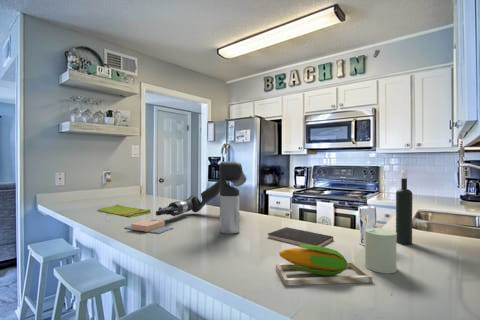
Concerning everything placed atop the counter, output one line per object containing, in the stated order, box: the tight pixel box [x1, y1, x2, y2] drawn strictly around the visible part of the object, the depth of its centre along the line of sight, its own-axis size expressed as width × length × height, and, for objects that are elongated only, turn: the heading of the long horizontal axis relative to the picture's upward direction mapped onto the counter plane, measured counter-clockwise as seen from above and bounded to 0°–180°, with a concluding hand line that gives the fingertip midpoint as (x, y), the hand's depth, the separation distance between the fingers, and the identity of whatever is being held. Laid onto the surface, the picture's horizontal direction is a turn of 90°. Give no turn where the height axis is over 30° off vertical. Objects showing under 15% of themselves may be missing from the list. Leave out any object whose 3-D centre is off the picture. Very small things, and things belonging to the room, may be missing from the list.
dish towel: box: [96, 204, 152, 218], centre depth 173 cm, size 15×36×3 cm, turn 57°
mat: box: [124, 225, 174, 235], centre depth 132 cm, size 22×10×1 cm, turn 65°
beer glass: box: [357, 205, 378, 247], centre depth 109 cm, size 7×7×15 cm
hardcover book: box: [267, 227, 334, 247], centre depth 116 cm, size 16×23×2 cm
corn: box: [278, 245, 348, 277], centre depth 80 cm, size 7×8×20 cm
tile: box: [130, 218, 166, 233], centre depth 132 cm, size 10×3×12 cm
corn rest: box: [275, 261, 373, 286], centre depth 80 cm, size 25×11×2 cm, turn 95°
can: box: [363, 227, 398, 274], centre depth 85 cm, size 9×9×12 cm
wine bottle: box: [395, 169, 413, 246], centre depth 110 cm, size 6×6×30 cm
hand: (156, 213), depth 137 cm, fingers closed
